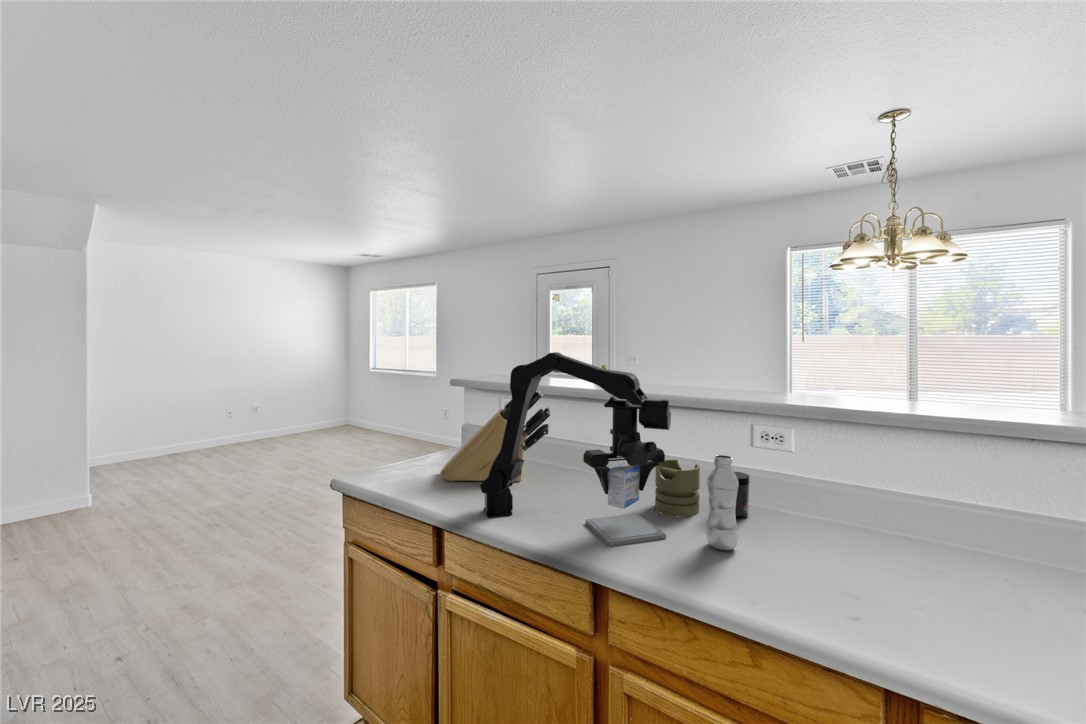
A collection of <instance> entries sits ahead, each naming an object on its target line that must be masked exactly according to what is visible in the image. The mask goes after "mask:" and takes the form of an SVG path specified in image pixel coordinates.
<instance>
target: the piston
mask: <svg viewBox="0 0 1086 724" xmlns="http://www.w3.org/2000/svg"><path fill="white" fill-rule="evenodd" d="M659 463H660V465H659V466H656V467H655V479H654V480H655V484H654V485H655V486H656V487H655V489H654V491H655V492H654V493H655V494H654V495H655V500H654V502H655V504H654V505H655V506H654V508H656V509H655V510H656V511H657V512H658V511H659V512H658V513H660V512H661V513H660V514H662V513H663V514H662V515H665V514H666V515H665V516H668V515H671V516H670V517H674V516H679V517H678V518H684V517H683V516H691V517H694V516H693V515H695V516H697V515H699V513H700V491H699V489H700V486H701V485H700V484H701V483H700V481H701V480H700V479H701V478H700V476H701V475H700V473H701V471H700V470H701V468H700V467H701V466H700V464H698V463H695V465H694V468H692V469H684V468H682V467H681V466H680V464H679V459H665V462H659ZM696 514H697V515H696ZM681 516H682V517H681Z"/></svg>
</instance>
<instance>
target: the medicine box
mask: <svg viewBox="0 0 1086 724" xmlns="http://www.w3.org/2000/svg"><path fill="white" fill-rule="evenodd" d="M639 483H640V466H639V465H636V466H630V465H629V464H628V463H627V462H624V463H621V464H619V465H618V464H617V466H613V467H611V468H610V470H609V472H608V494H607V505H608V506H612V507H616V508H620V509H622V510H624V509H626V508H628V507H630V506H631V505H633V504H635V503H636V502H638V501H639V500H640V490H639Z"/></svg>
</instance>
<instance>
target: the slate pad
mask: <svg viewBox="0 0 1086 724" xmlns="http://www.w3.org/2000/svg"><path fill="white" fill-rule="evenodd" d="M585 525H587V527H588V528H590V529H591V530H592V532H594V533H595V534H596V535H597V536H598V537H599V538H600V539H601V540H602V541H604V542H605V543H606V545H608V546H609V547H615V546H623V545H630V544H636V543H644V542H650V541H659V540H666V539H667V534H666V533H665V532H663V531H662V530H661V529H659V528H658V527H657V526H656V525H654V524H653V523H651V522H649V521H648V520H647V519H645V518H644V517H643V516H641V515H639V513H629V514H628V513H627V514H621V515H613V516H612V515H611V516H603V517H597V518H596V517H595V518H589V519H585ZM665 538H666V539H665Z"/></svg>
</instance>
